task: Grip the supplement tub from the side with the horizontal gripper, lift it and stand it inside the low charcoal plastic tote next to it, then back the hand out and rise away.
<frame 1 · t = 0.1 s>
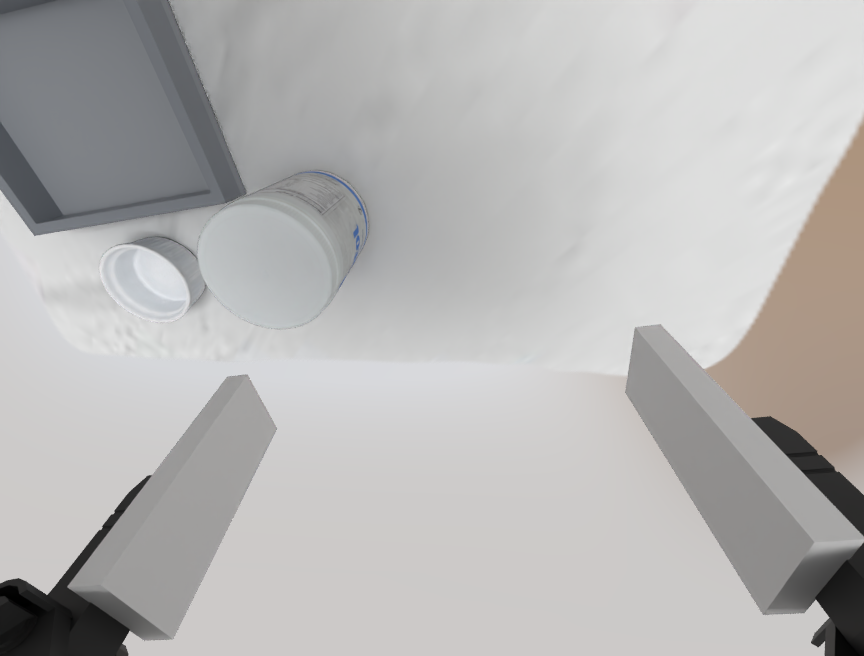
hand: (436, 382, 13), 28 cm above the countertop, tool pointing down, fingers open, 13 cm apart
supplement tub: (324, 216, 38), on the countertop
tote: (104, 114, 34), on the countertop
ramekin: (172, 269, 42), on the countertop
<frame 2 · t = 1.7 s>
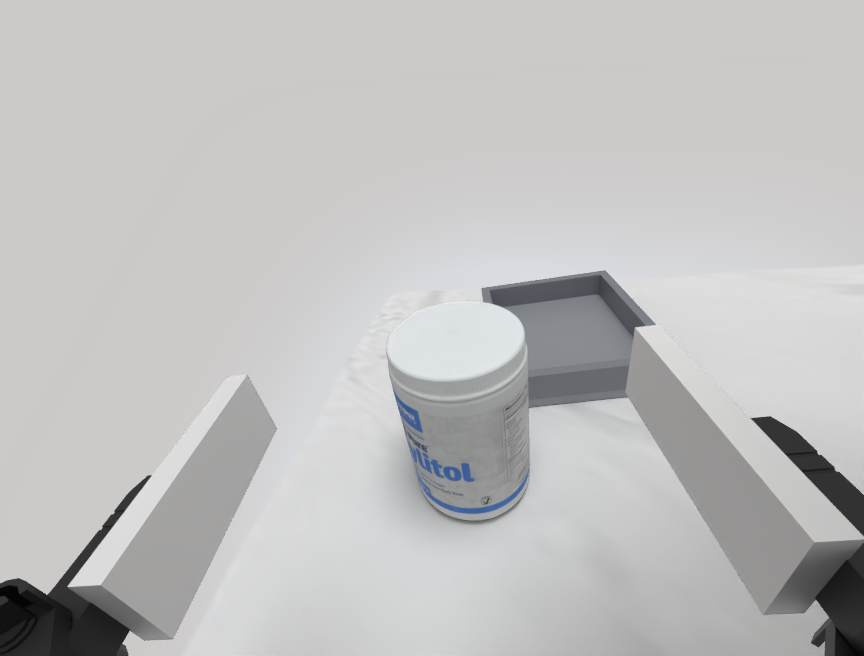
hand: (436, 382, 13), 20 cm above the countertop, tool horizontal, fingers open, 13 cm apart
supplement tub: (475, 474, 32), on the countertop
tote: (561, 343, 45), on the countertop
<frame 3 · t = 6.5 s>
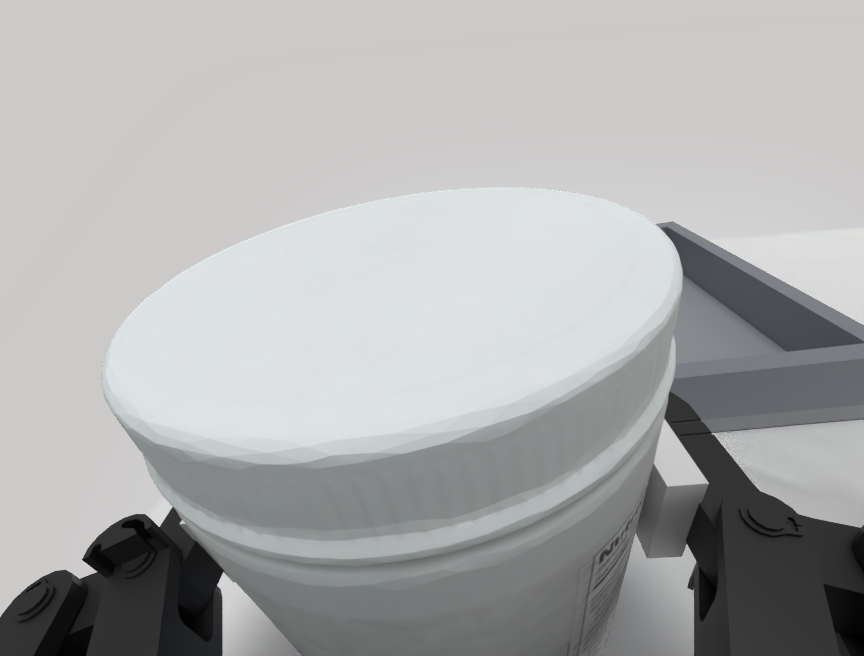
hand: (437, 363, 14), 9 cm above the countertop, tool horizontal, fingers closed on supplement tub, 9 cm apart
supplement tub: (470, 604, 15), on the countertop, touching gripper
tote: (614, 330, 28), on the countertop
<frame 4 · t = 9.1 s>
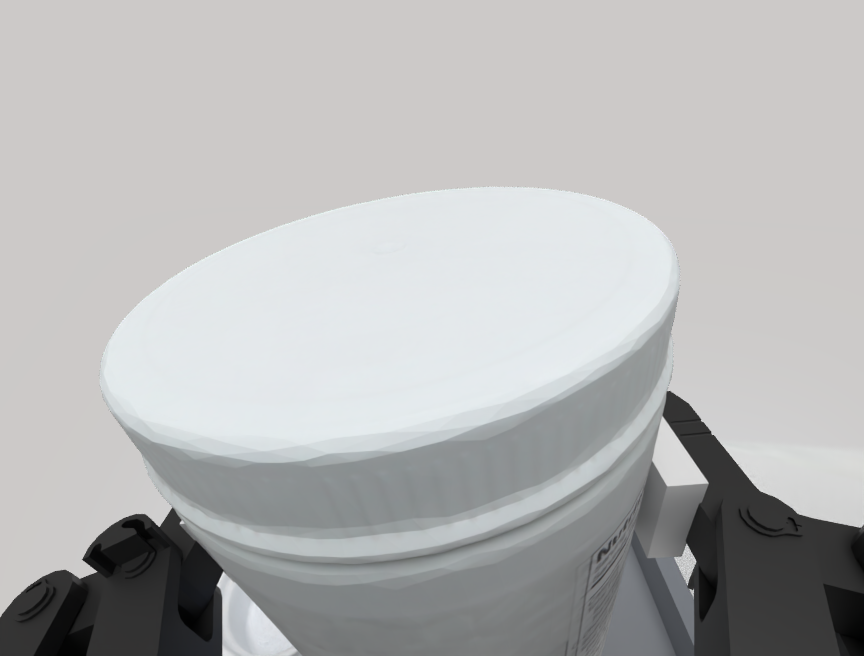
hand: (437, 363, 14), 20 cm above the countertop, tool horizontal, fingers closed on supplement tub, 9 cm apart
supplement tub: (469, 604, 15), point 11 cm above the countertop, touching gripper
tote: (530, 641, 22), on the countertop
ramekin: (305, 607, 26), on the countertop
when the fingers open (10 cm above the countertop, at t = 12.1 s): supplement tub stays where it is, resting on tote.
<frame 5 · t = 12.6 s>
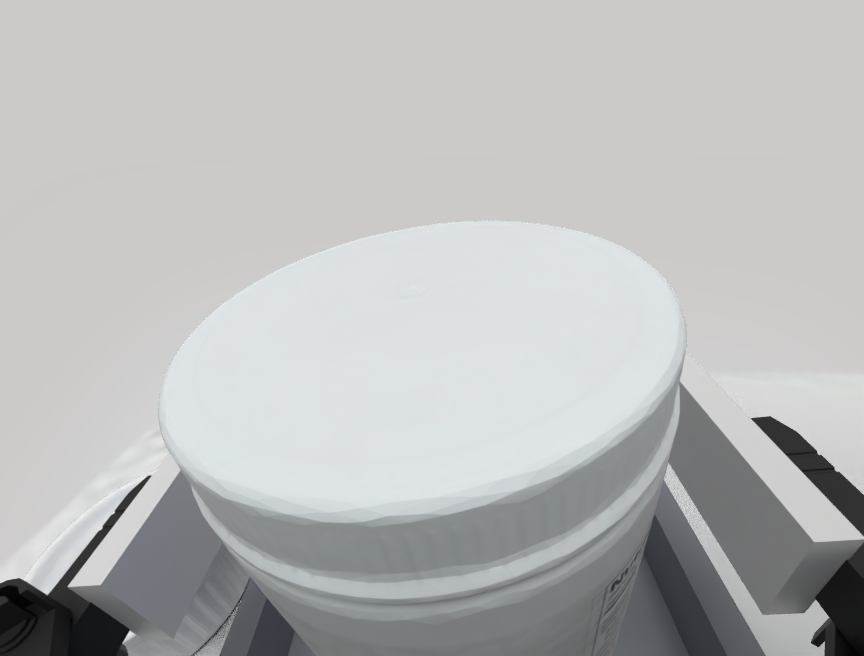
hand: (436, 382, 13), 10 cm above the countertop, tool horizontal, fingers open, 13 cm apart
supplement tub: (478, 614, 15), point 1 cm above the countertop, touching tote
tote: (474, 623, 16), on the countertop
ramekin: (182, 589, 19), on the countertop
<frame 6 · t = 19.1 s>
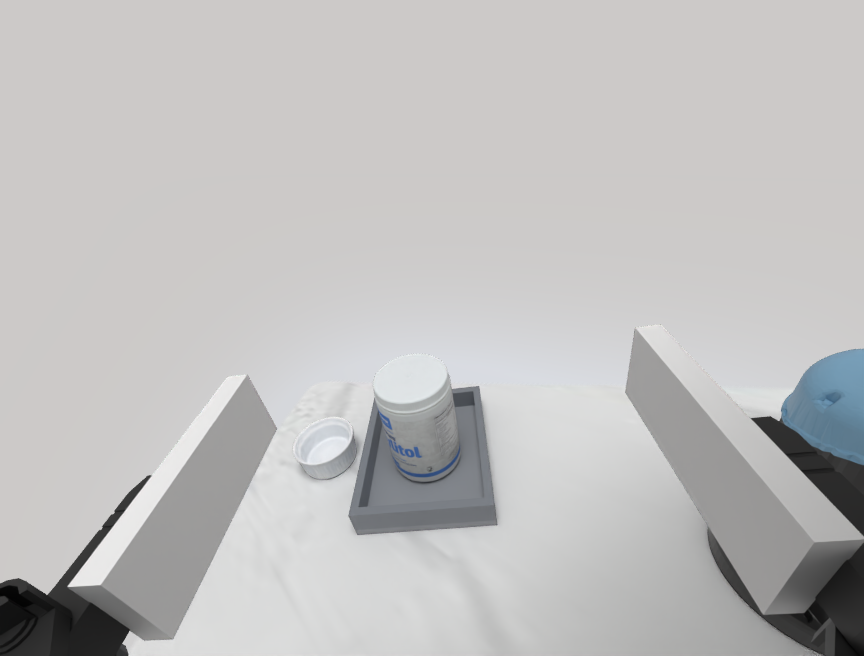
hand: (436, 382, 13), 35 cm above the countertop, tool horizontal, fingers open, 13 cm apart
supplement tub: (429, 456, 52), point 1 cm above the countertop, touching tote
tote: (428, 460, 53), on the countertop
ramekin: (332, 458, 56), on the countertop
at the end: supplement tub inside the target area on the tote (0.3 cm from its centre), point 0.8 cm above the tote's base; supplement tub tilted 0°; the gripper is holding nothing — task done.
